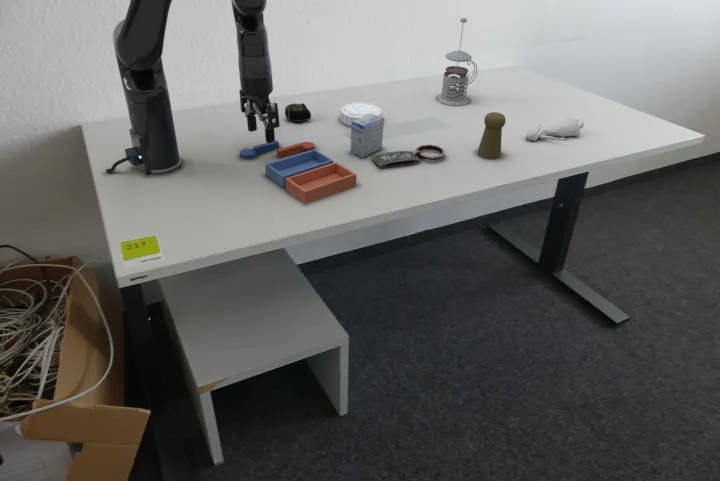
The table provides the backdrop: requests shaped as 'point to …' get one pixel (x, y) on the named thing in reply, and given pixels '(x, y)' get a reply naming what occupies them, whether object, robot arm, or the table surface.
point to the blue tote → (295, 165)
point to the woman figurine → (557, 130)
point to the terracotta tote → (320, 182)
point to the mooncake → (357, 112)
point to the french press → (456, 78)
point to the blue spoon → (258, 150)
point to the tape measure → (297, 112)
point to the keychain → (407, 156)
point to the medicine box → (366, 135)
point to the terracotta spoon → (295, 149)
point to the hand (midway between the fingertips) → (261, 136)
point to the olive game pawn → (492, 136)
